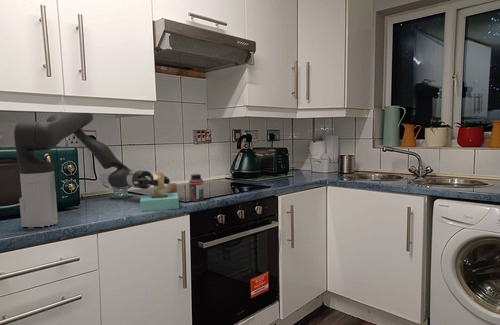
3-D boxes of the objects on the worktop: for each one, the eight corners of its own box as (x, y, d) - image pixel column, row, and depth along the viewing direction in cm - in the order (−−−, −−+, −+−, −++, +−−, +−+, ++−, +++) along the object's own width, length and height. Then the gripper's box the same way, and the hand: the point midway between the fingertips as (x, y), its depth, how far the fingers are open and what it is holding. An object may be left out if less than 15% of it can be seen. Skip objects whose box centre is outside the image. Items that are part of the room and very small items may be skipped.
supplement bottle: (187, 200, 143) (185, 174, 142) (198, 198, 147) (197, 173, 146) (195, 202, 139) (194, 175, 138) (206, 200, 143) (205, 174, 142)
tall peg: (154, 208, 130) (152, 172, 129) (155, 206, 134) (153, 171, 133) (165, 207, 131) (163, 172, 130) (165, 205, 135) (163, 171, 134)
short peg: (168, 200, 144) (167, 184, 143) (167, 199, 148) (167, 183, 147) (177, 200, 145) (176, 184, 144) (177, 198, 149) (176, 183, 148)
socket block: (140, 211, 124) (140, 201, 124) (143, 204, 138) (142, 194, 137) (179, 208, 127) (178, 198, 127) (177, 201, 141) (177, 192, 141)
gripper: (123, 172, 135) (146, 174, 124) (153, 168, 146) (177, 170, 135) (124, 190, 136) (147, 194, 125) (154, 185, 147) (178, 189, 136)
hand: (163, 182), depth 130 cm, fingers open, 4 cm apart
